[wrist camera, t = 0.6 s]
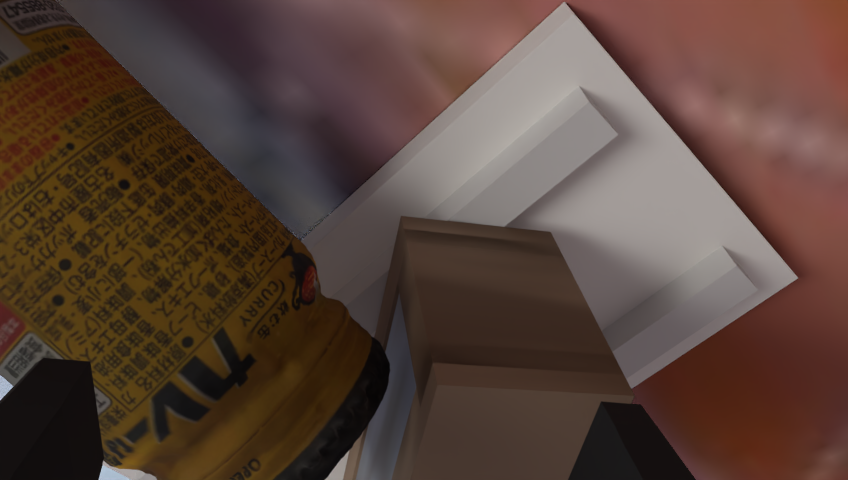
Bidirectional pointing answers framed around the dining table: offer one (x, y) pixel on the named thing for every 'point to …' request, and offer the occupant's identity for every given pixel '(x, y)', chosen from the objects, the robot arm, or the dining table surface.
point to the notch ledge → (564, 202)
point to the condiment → (162, 277)
